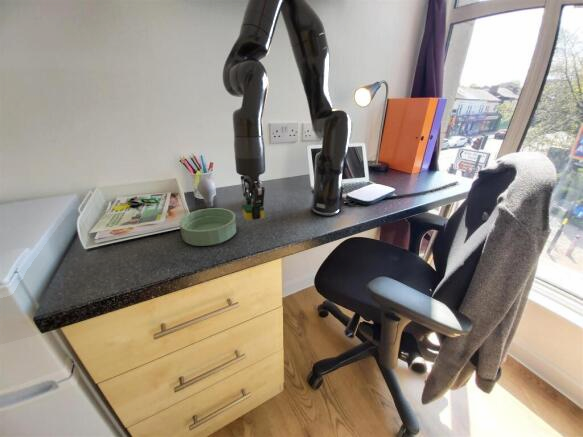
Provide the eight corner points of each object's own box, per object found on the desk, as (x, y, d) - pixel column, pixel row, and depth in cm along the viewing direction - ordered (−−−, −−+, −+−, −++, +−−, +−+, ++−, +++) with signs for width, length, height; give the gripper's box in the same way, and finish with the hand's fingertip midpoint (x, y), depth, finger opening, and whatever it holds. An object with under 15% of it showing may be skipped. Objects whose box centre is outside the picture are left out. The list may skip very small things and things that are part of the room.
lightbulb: (208, 212, 83) (203, 182, 78) (197, 208, 86) (192, 179, 81) (221, 206, 88) (218, 178, 83) (210, 203, 91) (206, 175, 86)
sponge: (259, 212, 70) (259, 202, 68) (264, 217, 66) (263, 207, 65) (243, 215, 68) (242, 205, 66) (247, 220, 64) (246, 210, 63)
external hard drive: (373, 187, 110) (373, 182, 109) (397, 193, 102) (398, 188, 101) (342, 199, 96) (343, 194, 95) (367, 207, 88) (368, 202, 87)
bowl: (230, 218, 79) (228, 204, 77) (242, 239, 67) (241, 224, 64) (180, 228, 73) (177, 213, 70) (184, 253, 60) (181, 236, 58)
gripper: (274, 158, 55) (275, 223, 63) (255, 149, 67) (258, 204, 74) (243, 161, 52) (248, 228, 60) (228, 150, 64) (234, 208, 71)
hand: (253, 215), depth 67 cm, fingers closed on sponge, 4 cm apart
